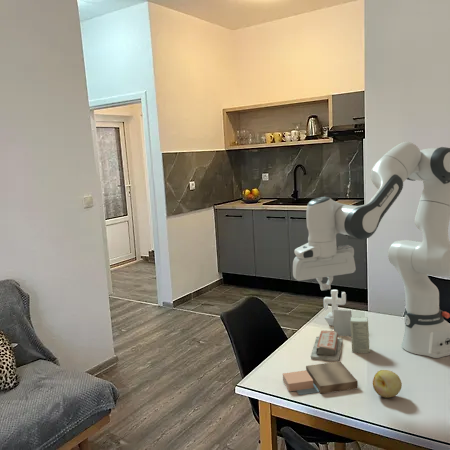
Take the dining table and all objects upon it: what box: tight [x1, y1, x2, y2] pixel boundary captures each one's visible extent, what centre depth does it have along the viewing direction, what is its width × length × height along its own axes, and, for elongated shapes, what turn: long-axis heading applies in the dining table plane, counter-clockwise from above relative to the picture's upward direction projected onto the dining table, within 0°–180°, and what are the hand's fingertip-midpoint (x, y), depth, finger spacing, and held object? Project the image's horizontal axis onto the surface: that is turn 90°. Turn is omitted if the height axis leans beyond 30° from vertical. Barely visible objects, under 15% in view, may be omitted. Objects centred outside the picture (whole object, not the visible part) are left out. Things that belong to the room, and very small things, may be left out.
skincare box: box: [350, 316, 370, 354], centre depth 165 cm, size 6×4×12 cm
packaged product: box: [310, 330, 343, 362], centre depth 169 cm, size 18×5×10 cm
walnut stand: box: [305, 360, 359, 395], centre depth 146 cm, size 12×14×2 cm
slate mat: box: [296, 383, 320, 396], centre depth 145 cm, size 8×12×1 cm, turn 8°
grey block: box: [333, 309, 353, 337], centre depth 181 cm, size 4×7×10 cm, turn 71°
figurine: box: [323, 289, 347, 327], centre depth 192 cm, size 7×9×15 cm
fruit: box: [372, 369, 403, 398], centre depth 134 cm, size 8×8×8 cm
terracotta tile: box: [282, 369, 314, 392], centre depth 145 cm, size 8×7×2 cm
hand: (325, 289), depth 147 cm, fingers closed
